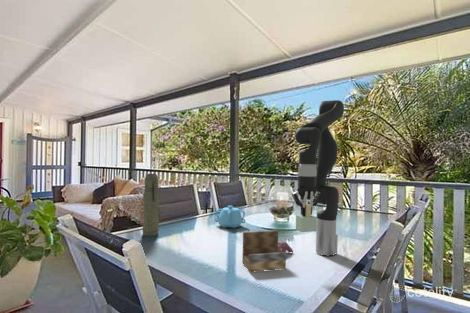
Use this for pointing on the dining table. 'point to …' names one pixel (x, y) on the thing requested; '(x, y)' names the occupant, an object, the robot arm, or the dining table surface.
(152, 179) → the thermos
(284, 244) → the video game controller
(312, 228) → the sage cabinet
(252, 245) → the wall board ledge
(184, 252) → the dining table surface
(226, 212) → the decorative pot
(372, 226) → the dining table surface
